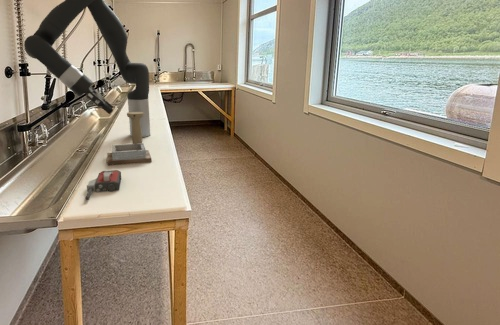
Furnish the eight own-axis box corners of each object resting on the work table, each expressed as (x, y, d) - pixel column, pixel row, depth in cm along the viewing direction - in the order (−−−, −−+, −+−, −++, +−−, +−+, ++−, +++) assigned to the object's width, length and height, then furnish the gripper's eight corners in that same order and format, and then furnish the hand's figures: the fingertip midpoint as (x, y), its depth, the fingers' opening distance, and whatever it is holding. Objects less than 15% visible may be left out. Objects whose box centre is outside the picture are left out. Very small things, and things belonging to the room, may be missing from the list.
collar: (112, 152, 143) (111, 145, 142) (143, 150, 147) (143, 143, 146) (112, 160, 133) (112, 152, 132) (146, 158, 136) (145, 150, 135)
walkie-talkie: (93, 179, 119) (83, 204, 100) (91, 166, 117) (81, 188, 99) (122, 177, 121) (117, 201, 102) (121, 164, 120) (116, 186, 101)
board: (107, 156, 143) (107, 152, 143) (148, 153, 148) (148, 150, 147) (107, 165, 132) (107, 161, 132) (151, 162, 137) (151, 158, 137)
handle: (144, 151, 152) (142, 113, 148) (128, 151, 151) (125, 113, 147) (146, 148, 157) (144, 112, 152) (131, 148, 156) (128, 111, 152)
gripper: (81, 74, 133) (118, 106, 140) (84, 72, 146) (117, 101, 153) (67, 90, 133) (104, 120, 140) (70, 86, 146) (105, 114, 153)
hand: (111, 110), depth 146 cm, fingers open, 8 cm apart
